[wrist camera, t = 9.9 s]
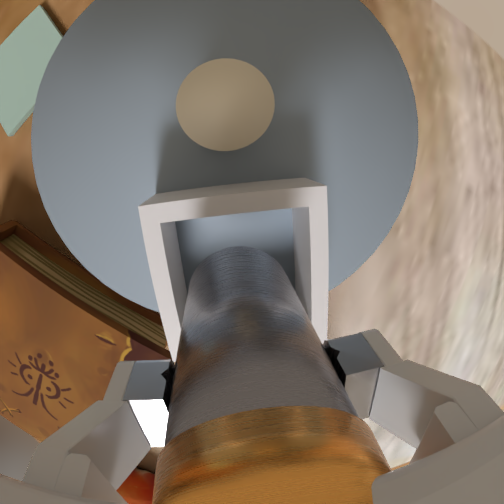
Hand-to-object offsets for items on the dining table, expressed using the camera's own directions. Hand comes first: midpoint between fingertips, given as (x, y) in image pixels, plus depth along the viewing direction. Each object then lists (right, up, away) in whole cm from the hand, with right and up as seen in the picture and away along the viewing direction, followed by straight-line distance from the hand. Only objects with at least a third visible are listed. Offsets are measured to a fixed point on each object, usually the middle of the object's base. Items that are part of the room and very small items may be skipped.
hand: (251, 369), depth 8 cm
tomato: (-16, -30, +27) cm, 44 cm away
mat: (-20, +19, +10) cm, 30 cm away
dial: (-2, +10, +9) cm, 14 cm away
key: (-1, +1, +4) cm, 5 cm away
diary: (-21, -8, +20) cm, 30 cm away
